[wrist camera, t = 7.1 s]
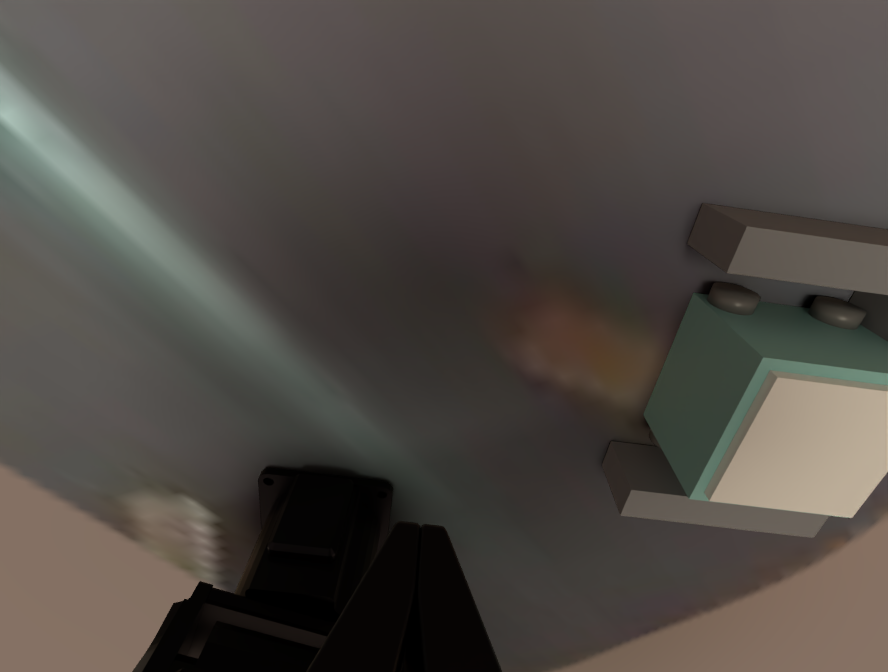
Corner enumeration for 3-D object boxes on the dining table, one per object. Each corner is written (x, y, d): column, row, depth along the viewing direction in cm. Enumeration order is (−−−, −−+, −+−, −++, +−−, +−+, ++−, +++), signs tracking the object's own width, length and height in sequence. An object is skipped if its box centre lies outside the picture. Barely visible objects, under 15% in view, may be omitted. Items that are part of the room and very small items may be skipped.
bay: (773, 485, 23) (813, 537, 21) (601, 464, 23) (620, 515, 20) (930, 235, 17) (1014, 264, 15) (702, 203, 17) (747, 226, 14)
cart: (764, 439, 22) (847, 538, 18) (638, 423, 22) (687, 519, 17) (847, 297, 19) (977, 372, 14) (698, 277, 19) (780, 346, 14)
